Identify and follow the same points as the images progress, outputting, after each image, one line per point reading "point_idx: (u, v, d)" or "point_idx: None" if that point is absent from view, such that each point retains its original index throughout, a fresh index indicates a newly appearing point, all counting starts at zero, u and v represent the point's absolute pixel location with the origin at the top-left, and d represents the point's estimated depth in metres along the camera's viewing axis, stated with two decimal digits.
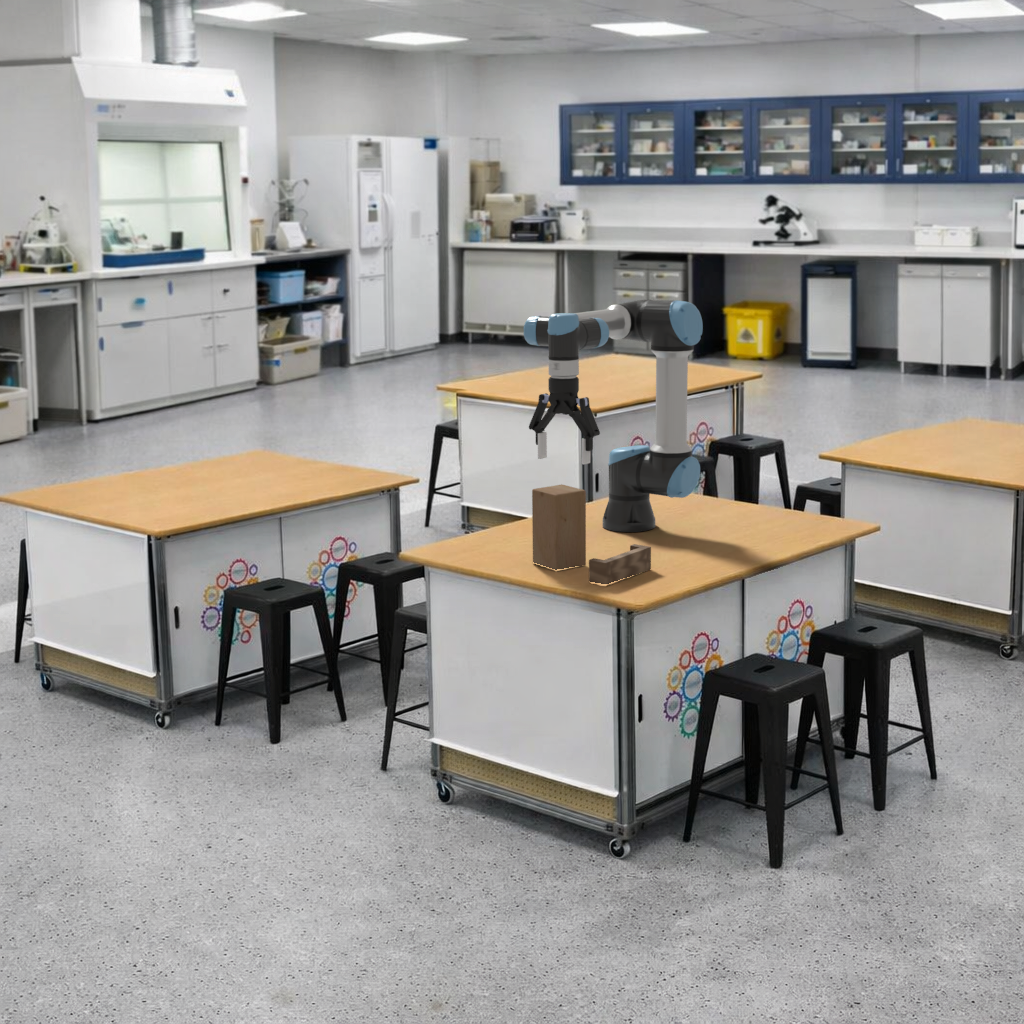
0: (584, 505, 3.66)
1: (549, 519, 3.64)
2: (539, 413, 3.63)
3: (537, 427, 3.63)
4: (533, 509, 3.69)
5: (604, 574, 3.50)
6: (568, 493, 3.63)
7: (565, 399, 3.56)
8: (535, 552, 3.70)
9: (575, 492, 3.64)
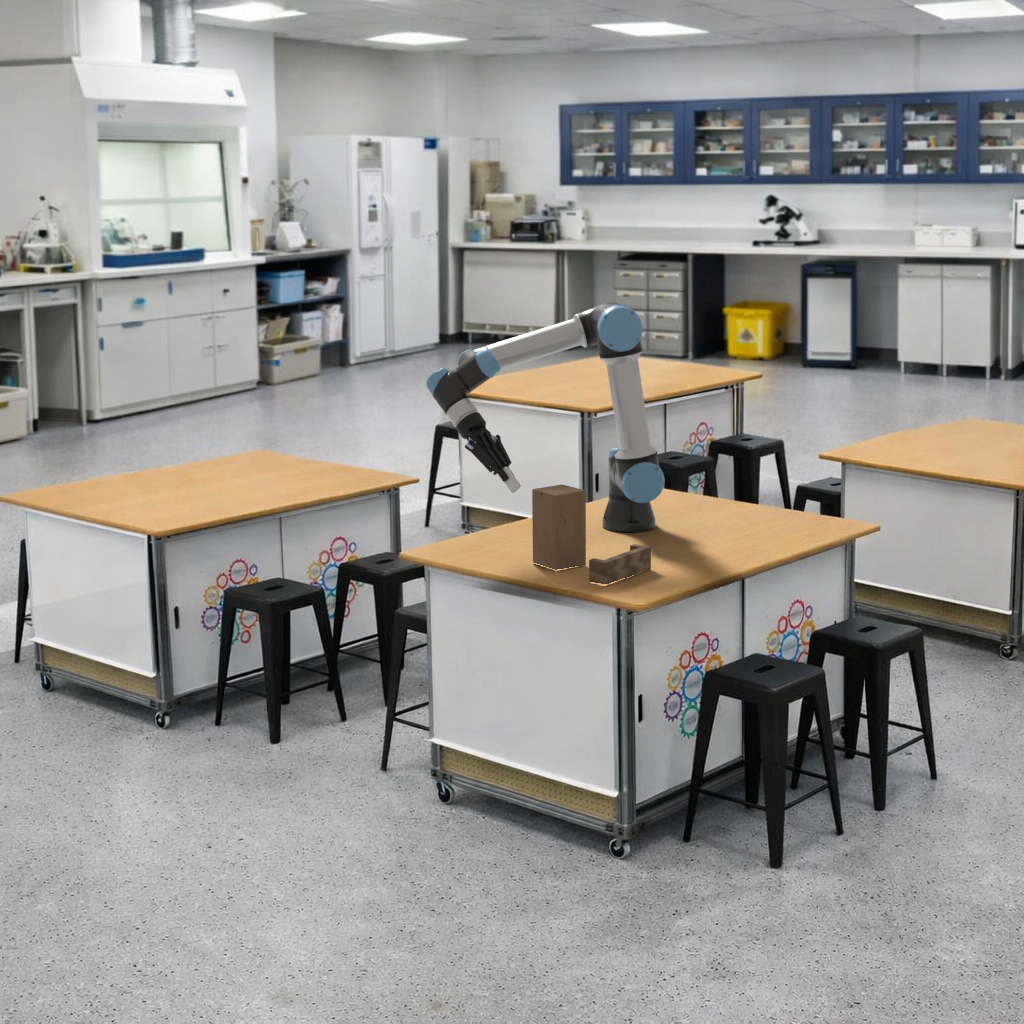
0: (584, 505, 3.66)
1: (549, 519, 3.64)
2: None
3: None
4: (533, 509, 3.69)
5: (604, 574, 3.50)
6: (568, 493, 3.63)
7: None
8: (535, 552, 3.70)
9: (575, 492, 3.64)
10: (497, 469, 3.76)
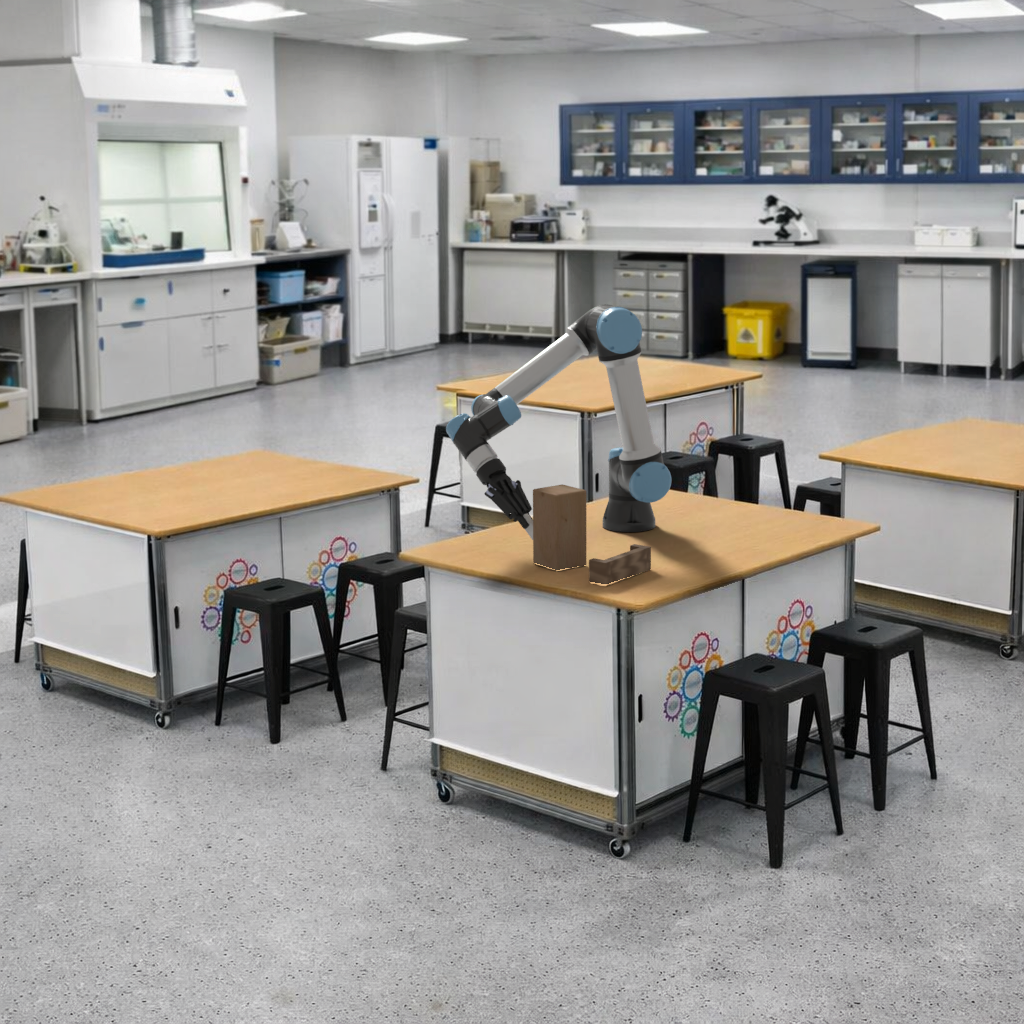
0: (585, 505, 3.66)
1: (549, 519, 3.63)
2: None
3: None
4: (534, 509, 3.68)
5: (604, 574, 3.50)
6: (569, 493, 3.63)
7: None
8: (536, 552, 3.70)
9: (576, 492, 3.64)
10: (517, 516, 3.73)
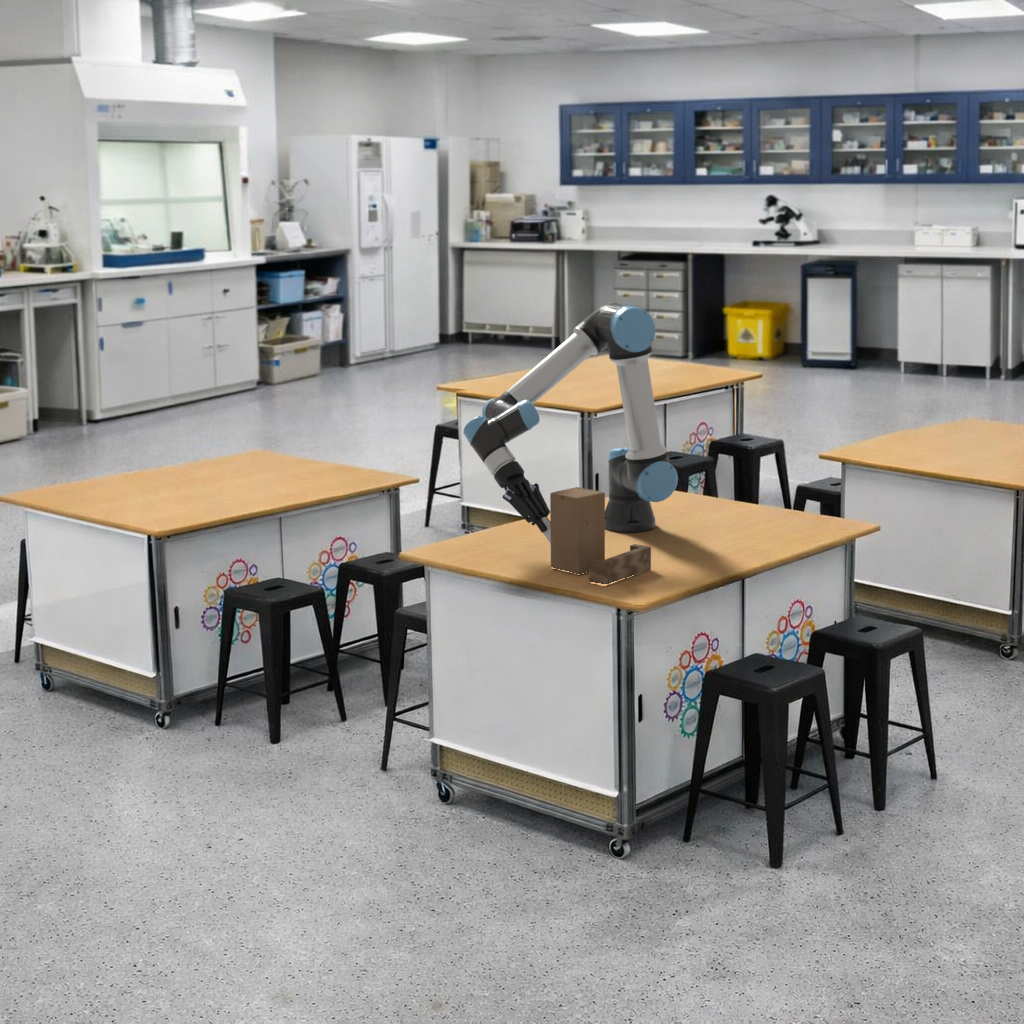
0: (603, 507, 3.63)
1: (570, 522, 3.59)
2: None
3: None
4: (551, 513, 3.64)
5: (604, 574, 3.50)
6: (589, 496, 3.59)
7: None
8: (554, 556, 3.65)
9: (595, 494, 3.61)
10: (535, 520, 3.69)
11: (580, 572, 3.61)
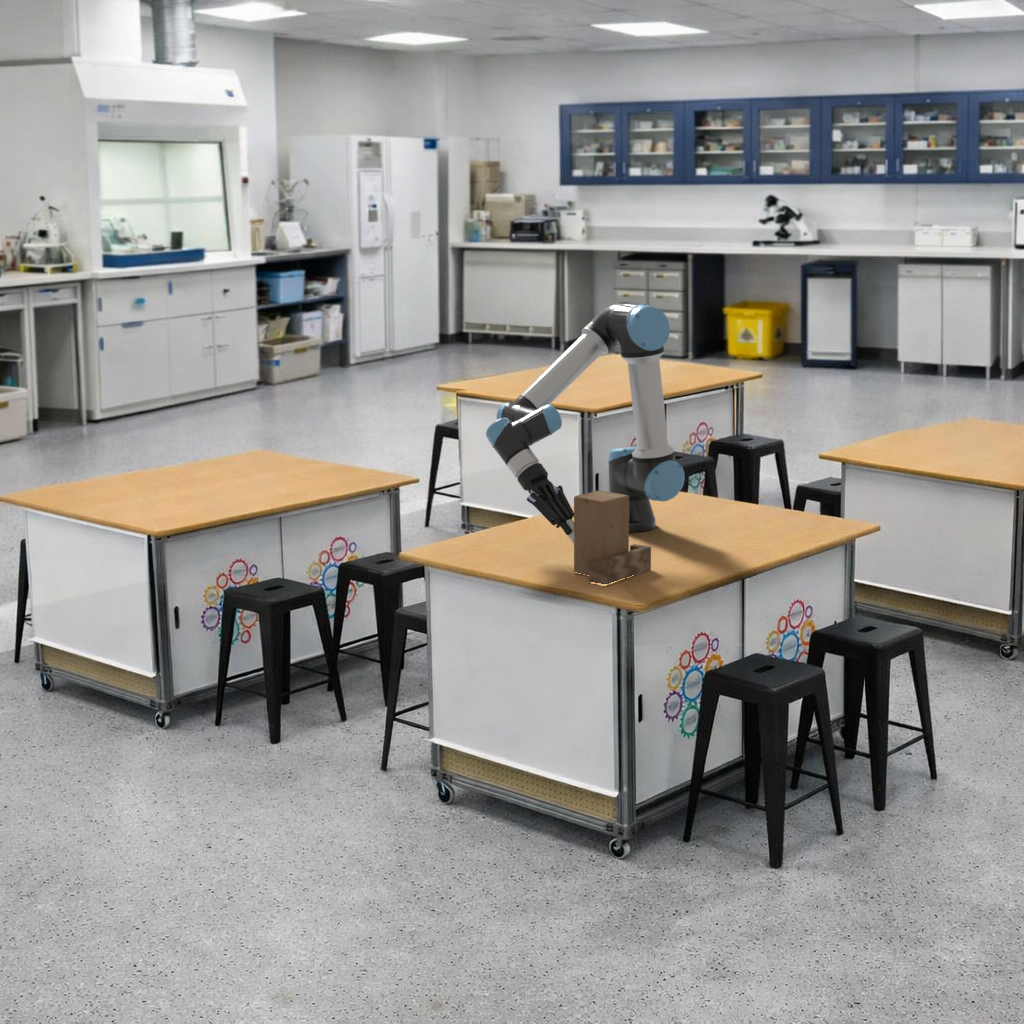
0: (628, 511, 3.59)
1: (595, 526, 3.55)
2: None
3: None
4: (575, 517, 3.59)
5: (604, 574, 3.50)
6: (614, 499, 3.55)
7: None
8: (578, 560, 3.61)
9: (620, 498, 3.57)
10: (560, 522, 3.65)
11: None
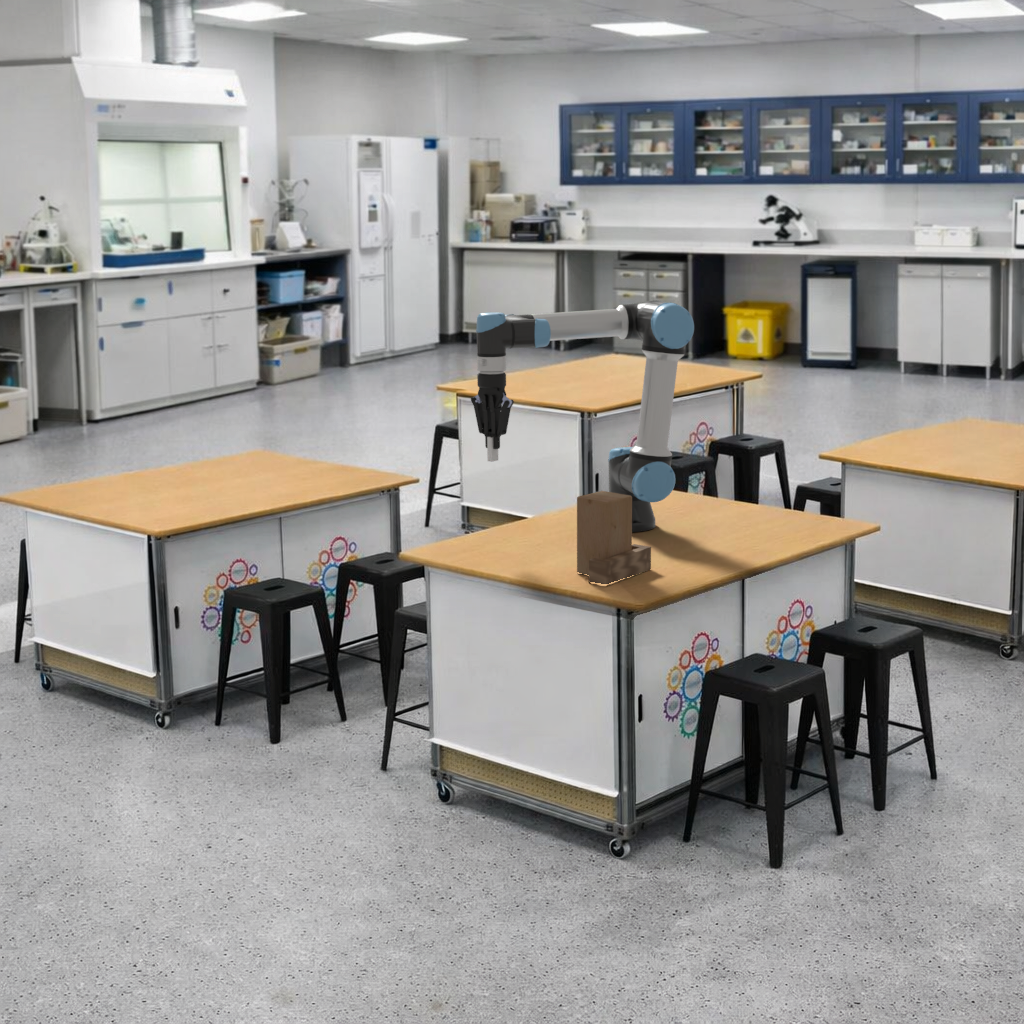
0: (631, 511, 3.59)
1: (598, 527, 3.55)
2: (480, 414, 3.82)
3: (485, 430, 3.81)
4: (578, 517, 3.59)
5: (604, 574, 3.50)
6: (617, 499, 3.55)
7: (494, 390, 3.77)
8: (581, 561, 3.61)
9: (623, 498, 3.56)
10: (500, 435, 3.80)
11: None
